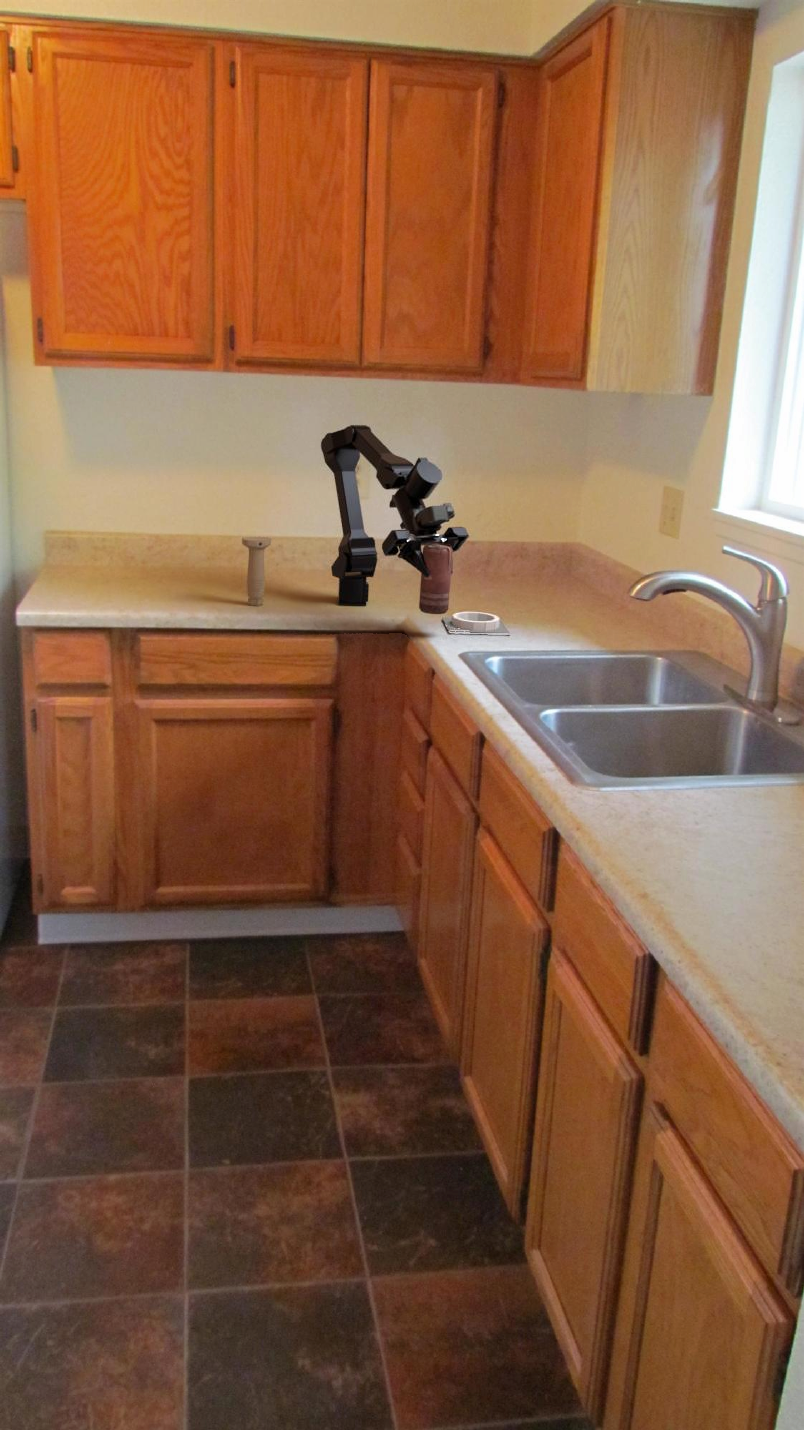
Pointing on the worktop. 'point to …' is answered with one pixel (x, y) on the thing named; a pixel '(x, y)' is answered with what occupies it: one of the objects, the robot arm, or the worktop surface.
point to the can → (436, 578)
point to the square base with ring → (475, 623)
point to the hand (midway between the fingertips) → (439, 574)
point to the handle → (256, 568)
